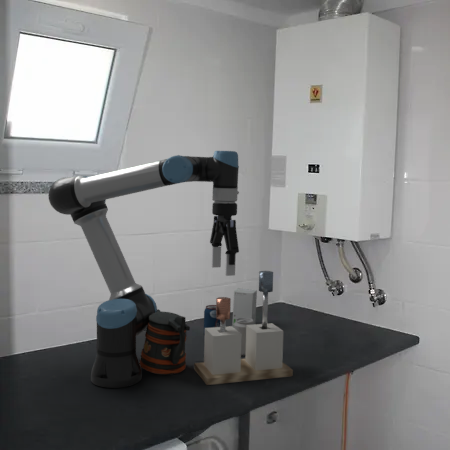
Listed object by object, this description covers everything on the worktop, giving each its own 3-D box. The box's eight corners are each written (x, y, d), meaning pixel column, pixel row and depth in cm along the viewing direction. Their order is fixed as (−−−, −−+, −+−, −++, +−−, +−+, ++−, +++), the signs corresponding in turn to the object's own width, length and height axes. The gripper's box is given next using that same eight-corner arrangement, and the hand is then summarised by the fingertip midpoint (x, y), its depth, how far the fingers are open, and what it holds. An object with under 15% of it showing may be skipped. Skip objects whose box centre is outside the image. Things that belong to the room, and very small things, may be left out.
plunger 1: (217, 361, 181) (218, 300, 179) (213, 356, 185) (214, 297, 183) (231, 360, 182) (232, 299, 180) (226, 355, 186) (227, 296, 184)
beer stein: (201, 378, 183) (209, 316, 180) (160, 385, 175) (168, 320, 171) (170, 354, 198) (177, 297, 195) (131, 360, 190) (138, 300, 186)
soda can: (220, 341, 219) (221, 309, 218) (202, 339, 220) (202, 308, 219) (223, 335, 226) (224, 305, 224) (205, 334, 227) (206, 303, 226)
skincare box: (231, 329, 235) (232, 291, 233) (236, 325, 241) (237, 287, 239) (252, 331, 232) (253, 292, 230) (256, 327, 238) (257, 289, 237)
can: (229, 354, 204) (229, 320, 203) (238, 348, 211) (239, 315, 209) (248, 358, 201) (249, 323, 199) (257, 352, 207) (258, 318, 206)
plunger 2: (260, 333, 185) (262, 273, 183) (255, 329, 189) (257, 271, 187) (273, 332, 186) (275, 273, 184) (268, 328, 190) (269, 270, 188)
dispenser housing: (212, 374, 178) (213, 336, 177) (204, 365, 187) (204, 328, 186) (282, 367, 186) (283, 330, 184) (270, 358, 194) (272, 323, 193)
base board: (206, 385, 175) (207, 378, 175) (194, 369, 189) (194, 363, 188) (292, 376, 184) (292, 369, 184) (274, 361, 198) (274, 355, 197)
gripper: (251, 205, 168) (249, 278, 170) (223, 199, 191) (221, 263, 194) (226, 205, 166) (224, 279, 168) (201, 199, 189) (199, 264, 191)
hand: (223, 271), depth 181 cm, fingers open, 13 cm apart
